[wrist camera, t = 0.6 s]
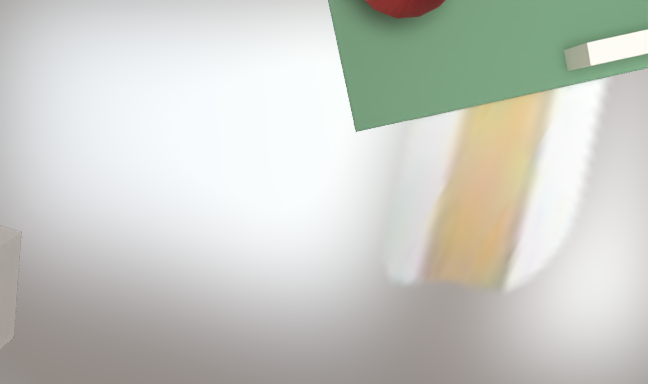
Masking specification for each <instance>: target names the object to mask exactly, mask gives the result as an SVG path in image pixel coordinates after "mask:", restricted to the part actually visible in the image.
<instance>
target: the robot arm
mask: <svg viewBox="0 0 648 384" xmlns="http://www.w3.org/2000/svg"><path fill="white" fill-rule="evenodd" d="M21 233H22V232H20V231H17V230H13V229H10V228H7V227H3V226H0V349H1V348H3V347H4V346H5V345H6V344H7V343H8V342H9V341H10V340H11V339H12V338H13V337H14V328H15V314H16V301H17V287H18V274H19V273H18V272H19V259H20V246H21Z"/></svg>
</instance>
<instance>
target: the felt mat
mask: <svg viewBox="0 0 648 384" xmlns="http://www.w3.org/2000/svg"><path fill="white" fill-rule="evenodd" d="M328 2H329V6H330V11H331V16H332V21H333V25H334V30H335V35H336V40H337V45H338V49H339V54H340V58H341V64H342V68H343V73H344V77H345V82H346V87H347V92H348V96H349V101H350V106H351V111H352V115H353V120H354V125H355V130H356V132H357V131H362V130H366V129H371V128H375V127H380V126H385V125H389V124H394V123H398V122H402V121H407V120H412V119H417V118H421V117H426V116H430V115H435V114H440V113H444V112H449V111H453V110H458V109H462V108H467V107H472V106H476V105H481V104H485V103H490V102H495V101H499V100H504V99H508V98H513V97H517V96H522V95H527V94H531V93H536V92H540V91H545V90H550V89H554V88H559V87H563V86H568V85H572V84H577V83H582V82H586V81H591V80H595V79H600V78H604V77H609V76H613V75H618V74H623V73H627V72H632V71H637V70H641V69H645V68H648V54H644V55H639V56H635V57H630V58H626V59H621V60H616V61H612V62H607V63H603V64H598V65H593V66H589V67H584V68H580V69H575V70H571V71H567V66H566V60H565V54H564V50H566V49H569V48H572V47H575V46H578V45H582V44H585V43H588V42H593V41H597V40H602V39H606V38H611V37H616V36H620V35H625V34H629V33H634V32H638V31H643V30H648V0H446V1H445V2H444V3H442V4H441V5H440V6H439V7H438V8H436V9H434V10H432V11H430V12H428V13H426V14H424V15H422V16H420V17H409V18H394V17H391V16H389V15H386V14H384V13H381V12H379V11H377V10H374V9H373V8H372V7H371V6H370V5H369V4H368V3H367V2H366V1H365V0H328Z"/></svg>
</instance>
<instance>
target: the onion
mask: <svg viewBox="0 0 648 384" xmlns="http://www.w3.org/2000/svg"><path fill="white" fill-rule="evenodd" d="M365 1H366V2H367V3H368V4H369V5H370V6H371V7H372V8H373V9H374V10H377V11H379V12H381V13H384V14H386V15H389V16H391V17H394V18H409V17H420V16H422V15H424V14H426V13H428V12H430V11H432V10H434V9H436V8H438V7H439V6H440V5H441V4H442V3H444V2H445V1H446V0H365Z"/></svg>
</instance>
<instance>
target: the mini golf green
mask: <svg viewBox="0 0 648 384" xmlns="http://www.w3.org/2000/svg"><path fill="white" fill-rule="evenodd" d="M564 54H565V60H566V66H567V71H571V70H575V69H580V68H584V67H589V66H593V65H598V64H603V63H607V62H612V61H616V60H621V59H626V58H630V57H635V56H639V55H644V54H648V30H643V31H638V32H634V33H629V34H625V35H620V36H616V37H611V38H606V39H602V40H597V41H593V42H588V43H585V44H582V45H578V46H575V47H572V48H569V49H566V50H564Z"/></svg>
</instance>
